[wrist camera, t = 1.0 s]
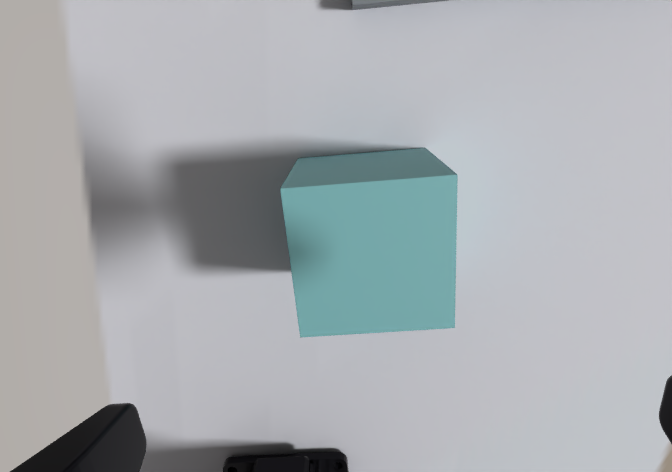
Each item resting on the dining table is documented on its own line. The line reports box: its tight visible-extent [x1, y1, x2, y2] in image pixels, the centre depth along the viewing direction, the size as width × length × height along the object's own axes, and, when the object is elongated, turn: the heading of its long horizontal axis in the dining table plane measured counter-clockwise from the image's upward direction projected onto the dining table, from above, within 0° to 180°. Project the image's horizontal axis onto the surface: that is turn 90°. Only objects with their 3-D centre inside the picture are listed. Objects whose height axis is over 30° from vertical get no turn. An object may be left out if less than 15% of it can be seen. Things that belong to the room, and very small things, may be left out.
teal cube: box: [280, 148, 457, 337], centre depth 15 cm, size 5×5×5 cm
